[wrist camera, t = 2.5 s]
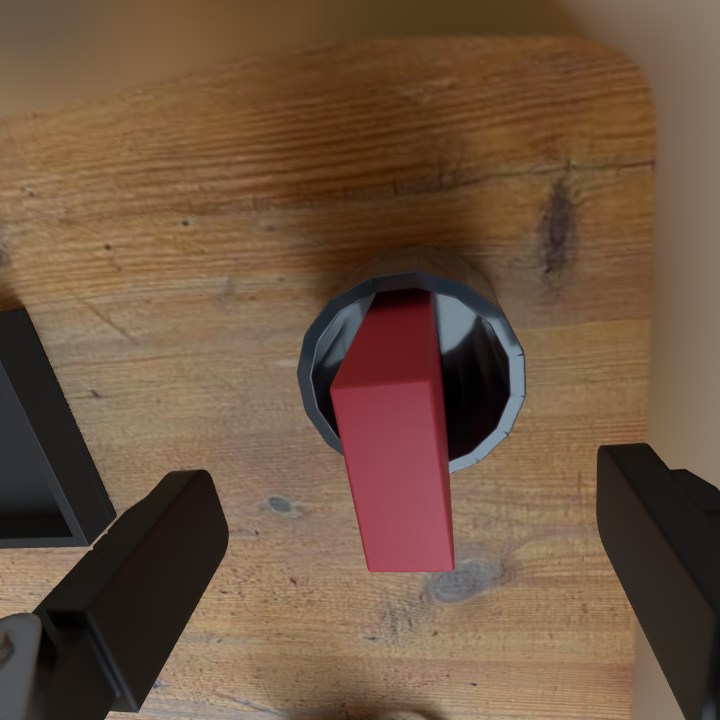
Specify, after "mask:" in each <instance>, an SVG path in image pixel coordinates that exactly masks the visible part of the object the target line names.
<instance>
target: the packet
mask: <svg viewBox="0 0 720 720" xmlns="http://www.w3.org/2000/svg"><path fill="white" fill-rule="evenodd" d="M330 393H331V398H332V402H333V407H334V412H335V416H336V421H337V426H338V431H339V435H340V440H341V445H342V450H343V454H344V459H345V464H346V469H347V473H348V478H349V483H350V487H351V492H352V497H353V502H354V506H355V511H356V516H357V521H358V525H359V530H360V535H361V539H362V544H363V549H364V554H365V558H366V563H367V568H368V570H369V571H370V572H442V571H453V570H454V568H455V562H454V544H453V527H452V510H451V493H450V476H449V458H448V441H447V424H446V407H445V389H444V378H443V369H442V360H441V351H440V342H439V334H438V325H437V316H436V307H435V298H434V293H433V292H430V291H426V290H422V289H418V288H411V289H403V290H395V291H387V292H379V293H376V294H375V296H374V298H373V300H372V302H371V304H370V306H369V308H368V310H367V312H366V314H365V316H364V319H363V321H362V323H361V325H360V327H359V329H358V331H357V333H356V335H355V337H354V339H353V341H352V343H351V345H350V347H349V349H348V351H347V353H346V355H345V357H344V360H343V362H342V364H341V366H340V368H339V370H338V372H337V374H336V376H335V378H334V380H333V382H332V384H331V386H330Z"/></svg>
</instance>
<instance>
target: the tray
mask: <svg viewBox="0 0 720 720" xmlns="http://www.w3.org/2000/svg"><path fill="white" fill-rule="evenodd" d="M116 517H117V516H116V514H115V512H114V509H113V507H112V505H111V502H110V500H109V498H108V496H107V493H106V491H105V489H104V487H103V484H102V482H101V480H100V478H99V475H98V473H97V471H96V468H95V466H94V464H93V462H92V459H91V457H90V455H89V453H88V450H87V448H86V446H85V444H84V441H83V439H82V437H81V434H80V432H79V430H78V428H77V425H76V423H75V421H74V419H73V416H72V414H71V412H70V410H69V407H68V405H67V403H66V401H65V398H64V396H63V394H62V391H61V389H60V387H59V385H58V382H57V380H56V378H55V376H54V373H53V371H52V369H51V367H50V364H49V362H48V360H47V357H46V355H45V353H44V351H43V348H42V346H41V344H40V342H39V339H38V337H37V335H36V333H35V330H34V328H33V326H32V323H31V321H30V319H29V317H28V314H27V312H26V310H25V309H24V308H22V309H15V310H9V311H2V312H0V549H7V548H48V547H78V546H79V547H88V546H90V545H91V544H92V543H93V542H94V541H95V540H96V539H97V537H98V536H99V535H100V534H101V533H102V532H103V531H104V530H105V529H106V528H107V527H108V526H109V525H110V523H111V522H112V521H113V520H114V519H115V518H116Z"/></svg>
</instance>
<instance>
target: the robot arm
mask: <svg viewBox="0 0 720 720" xmlns="http://www.w3.org/2000/svg"><path fill="white" fill-rule="evenodd" d="M596 515H597V524H598V530H599V534H600V538H601V541H602V544H603V547H604V549H605V551H606V553H607V555H608V557H609V559H610V562H611V564H612V566H613V568H614V570H615V572H616V574H617V576H618V578H619V580H620V583H621V585H622V587H623V589H624V591H625V593H626V595H627V597H628V599H629V602H630V604H631V606H632V608H633V610H634V612H635V614H636V616H637V618H638V620H639V623H640V624H641V627H642V629H643V631H644V633H645V635H646V637H647V639H648V641H649V644H650V646H651V648H652V650H653V652H654V654H655V656H656V658H657V660H658V662H659V665H660V667H661V669H662V671H663V673H664V675H665V677H666V679H667V681H668V684H669V686H670V688H671V690H672V692H673V694H674V696H675V698H676V700H677V702H678V705H679V707H680V709H681V711H682V713H683V715H684V717H685V719H686V720H720V491H719V490H718V488H717V487H715V486H713V485H712V484H710V483H708V482H706V481H705V480H703V479H701V478H700V477H698V476H696V475H695V474H693V473H691V472H689V471H688V470H686V469H676V470H670V469H669V468H668V467H667V466H666V465H665V463H664V462H663V461H662V460H661V459H660V457H659V456H658V455H657V454H656V453H655V451H654V450H653V449H652V448H651V447H650V446H649V445H648V444H647V443H633V444H617V445H602V446H600V447H599V449H598V454H597V502H596ZM228 539H229V531H228V525H227V522H226V519H225V516H224V513H223V510H222V507H221V504H220V501H219V498H218V495H217V492H216V489H215V486H214V483H213V480H212V477H211V475H210V474H209V472H208V471H206V470H186V471H172V472H170V473H168V474H167V475H166V476H165V477H164V478H163V479H162V480H161V481H160V482H159V483H158V485H157V486H156V487H155V488H154V489H153V490H152V491H151V492H150V493H149V495H148V496H147V497H145V498H144V499H142V500H141V501H139V502H138V503H137V504H135V505H134V506H132V507H131V508H130V509H128V510H127V511H125V512H124V513H123V514H122V516H121V517H120V518H119V519H118V520H117V521H116V522H115V523H114V524H113V525H112V526H111V527H110V528H109V530H108V533H107V534H104V535H103V536H102V537H101V538H100V539H99V540H98V541H97V543H96V544H95V545H94V546H93V550H89V551H88V552H87V553H86V554H85V556H84V557H83V558H82V559H81V560H80V561H79V562H78V563H77V564H76V565H75V566H74V567H73V569H72V570H71V571H70V572H69V573H68V574H67V575H66V576H65V577H64V578H63V579H62V580H61V582H60V583H59V584H58V585H57V586H56V587H55V588H54V589H53V590H52V591H51V592H50V593H49V595H48V596H47V597H46V598H45V599H44V600H43V601H42V602H41V603H40V604H39V605H38V606H37V607H36V609H35V610H34V611H33V612H32V613H18V614H13V615H10V616H6V617H4V618H1V619H0V720H104V719H105V718H106V716H107V714H108V713H109V711H117V712H135V713H138V712H139V710H140V708H141V706H142V704H143V703H144V701H145V699H146V697H147V695H148V693H149V692H150V690H151V688H152V686H153V684H154V683H155V681H156V679H157V677H158V675H159V673H160V672H161V670H162V668H163V666H164V664H165V663H166V661H167V659H168V657H169V655H170V653H171V652H172V650H173V648H174V646H175V644H176V643H177V641H178V639H179V637H180V635H181V633H182V632H183V630H184V628H185V626H186V624H187V623H188V621H189V619H190V617H191V615H192V613H193V612H194V610H195V608H196V606H197V604H198V603H199V601H200V599H201V597H202V595H203V593H204V592H205V590H206V588H207V586H208V584H209V583H210V581H211V579H212V577H213V575H214V573H215V572H216V570H217V568H218V566H219V564H220V563H221V561H222V559H223V557H224V555H225V553H226V550H227V546H228Z"/></svg>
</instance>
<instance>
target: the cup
mask: <svg viewBox="0 0 720 720" xmlns="http://www.w3.org/2000/svg"><path fill="white" fill-rule="evenodd" d="M411 288H418V289H422V290H426V291H430V292H433V293H434V298H435V307H436V316H437V325H438V334H439V342H440V351H441V360H442V369H443V378H444V389H445V407H446V424H447V441H448V458H449V474H451V473H453V472H456V471H458V470H461V469H463V468H466V467H468V466H471V465H473V464H476V463H478V462H479V461H481V460H482V459H483V458H484V457H485V456H486V455H488V454H489V453H490V452H491V451H492V450H493V449H494V448H495V447H496V446H497V445H498V444H499V443H500V442H501V441H503V440H504V439H505V438H506V437H507V436H508V435H509V433H510V432H511V430H512V427H513V425H514V423H515V420H516V418H517V416H518V413H519V411H520V409H521V407H522V404H523V402H524V400H525V395H526V374H525V354H524V350H523V348H522V347H521V345H520V343H519V341H518V339H517V337H516V335H515V333H514V331H513V329H512V327H511V326H510V324H509V322H508V320H507V318H506V316H505V314H504V312H503V310H502V308H501V307H500V305H499V303H498V301H497V299H496V297H495V295H494V293H493V291H492V290H491V288H490V286H489V284H488V282H487V280H486V279H485V278H484V276H483V275H481V274H480V273H479V272H478V271H477V270H476V269H475V268H474V267H473V266H471V265H470V264H469V263H468V262H466V261H465V260H463V259H462V258H460V257H458V256H456V255H454V254H452V253H450V252H447V251H444V250H441V249H438V248H432V247H427V246H407V247H400V248H396V249H392V250H389V251H386V252H383V253H381V254H379V255H377V256H375V257H373V258H371V259H370V260H368V261H367V262H365V263H364V264H363V265H361V266H360V267H358V268H356V270H354V271H353V272H352V274H351V275H350V276H349V277H348V278H347V280H346V281H345V282H344V283H343V284H342V286H341V287H340V288H339V289H338V290H337V291H336V293H335V294H334V295H333V296H332V297H331V299H330V300H329V301H328V302H327V304H326V305H325V306H324V308H323V309H322V311H321V312H320V313H319V315H318V316H317V318H316V319H315V320H314V322H313V323H312V325H311V326H310V327H309V329H308V330H307V332H306V333H305V336H304V339H303V344H302V349H301V354H300V360H299V365H298V370H297V377H298V382H299V386H300V391H301V395H302V399H303V404H304V408H305V412H306V414H307V416H308V417H309V419H310V420H311V421H312V423H313V424H314V426H315V427H316V429H317V430H318V431H319V433H320V434H321V436H322V437H323V439H324V440H325V441H326V443H327V444H329V446H330V447H332V448H333V449H335V450H336V451H337V452H339V453H340V454H342V455H343V456H344V454H343V450H342V445H341V440H340V435H339V431H338V426H337V421H336V416H335V412H334V407H333V402H332V398H331V393H330V386H331V384H332V382H333V380H334V378H335V376H336V374H337V372H338V370H339V368H340V366H341V364H342V362H343V360H344V357H345V355H346V353H347V351H348V349H349V347H350V345H351V343H352V341H353V339H354V337H355V335H356V333H357V331H358V329H359V327H360V325H361V323H362V321H363V319H364V316H365V314H366V312H367V310H368V308H369V306H370V304H371V302H372V300H373V298H374V296H375V294H376V293H379V292H387V291H395V290H403V289H411Z"/></svg>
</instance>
